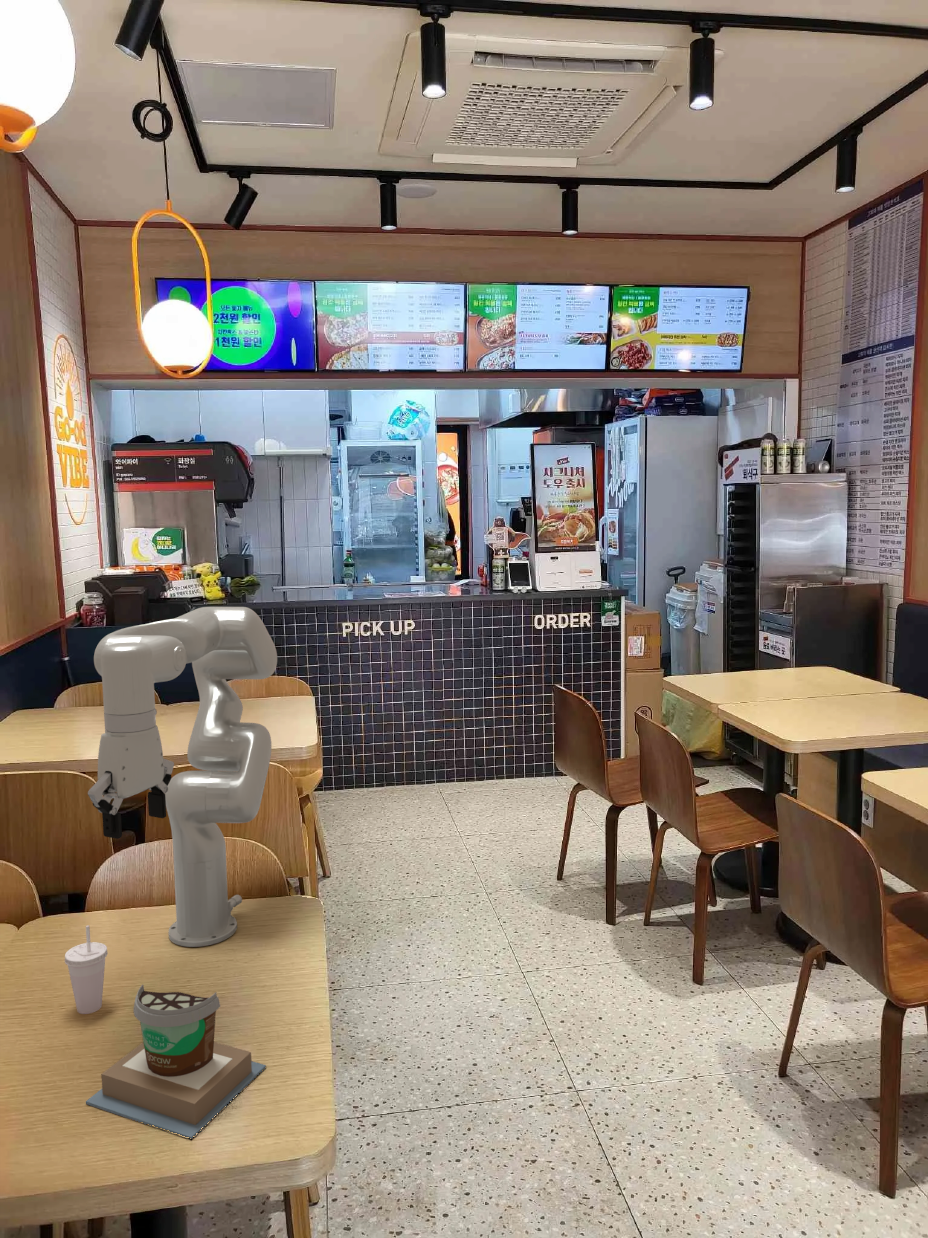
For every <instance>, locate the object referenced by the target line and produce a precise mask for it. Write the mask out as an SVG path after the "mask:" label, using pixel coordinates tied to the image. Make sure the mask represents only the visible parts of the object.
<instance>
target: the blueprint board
mask: <svg viewBox="0 0 928 1238" xmlns="http://www.w3.org/2000/svg"><path fill="white" fill-rule="evenodd" d="M265 1067H266V1068H267V1065H266V1064H263V1063H259V1062H256V1061H252V1051H249V1050H245V1049H242V1048H237V1047H235V1046H231V1045H227V1044H224V1043H220V1042H217V1041H214V1049H213V1059H212V1060H211V1061H210V1062H209V1063H208V1064H207V1065H205V1066H204V1067H202V1068H200V1069H199V1070H197V1071H194V1072H192V1073H189V1074H186V1075H181V1076H175V1077H166V1076H160V1075H157V1074H154V1073H153V1072H152V1071H151V1070H149V1069H148V1065H147V1061H146V1055H145V1048H144V1042H143V1041H142V1042H141V1043H140V1044H139V1045H137V1046H136V1047H135V1048H133V1049H132V1050H131V1051H129V1052H128V1053H127V1054H126V1055H124V1056H123V1057H121V1058H120V1059H119V1060H118V1061H116V1062H115V1063H114V1064H112V1065H111V1066H110V1067H109V1068H107V1069H106V1070H105V1071H103V1072H102V1073H101V1075H100V1076H101V1089H99V1090H98V1091H97V1092H96V1093H94V1094H93V1095H92V1096H90V1097H89V1098H88V1099H87V1100H85V1104H86V1105H88V1106H91V1107H93V1108H97V1109H100V1110H103V1111H105V1112H108V1113H112V1114H114V1115H117V1116H121V1117H123V1118H126V1119H127V1120H128V1119H129V1120H131V1119H132V1121H134V1120H135V1122H137V1121H138V1123H140V1122H143V1123H144V1125H146V1124H149V1125H151V1126H150V1127H152V1125H154V1126H155V1127H158V1128H162V1129H165V1130H169V1131H170V1132H173V1133H177V1134H180V1135H182V1136H185V1137H189V1138H191V1139H192V1138H193V1136H195V1135H196V1133H198V1132H199V1131H200V1130H201V1128H202V1127H204V1126H205V1125H207V1123H208V1122H209V1121H211V1119H212V1118H214V1116H215V1115H217V1113H219V1112H220V1111H221V1110H222V1109H223V1108H224V1107H225V1106H226V1107H228V1105H229V1104H230V1103H231V1102H232V1101H233V1100H234V1099H235V1098H236V1097H237V1096H239V1094H238V1093H240V1092H241V1091H242V1090H243V1089H244V1088H245V1087H246V1086H247V1087H248V1086H249V1085H250V1084H251V1083H252V1082H253V1081H254V1080H255V1079H256V1078H257V1077H258V1076H259V1075H260V1074H261V1073H262V1072H263V1071H264V1070H266V1068H265ZM263 1069H264V1070H263ZM262 1070H263V1071H262ZM260 1072H261V1073H260ZM259 1073H260V1074H259ZM257 1075H258V1076H257ZM256 1076H257V1077H256ZM254 1078H255V1079H254ZM252 1080H253V1081H252ZM251 1081H252V1082H251ZM250 1082H251V1083H250ZM248 1084H249V1085H248ZM247 1087H246V1088H247ZM246 1088H245V1089H246ZM243 1091H244V1090H243ZM241 1093H242V1092H241ZM241 1093H240V1094H241ZM236 1095H237V1096H236ZM235 1096H236V1097H235ZM233 1098H234V1099H233ZM232 1099H233V1100H232ZM230 1101H231V1102H230ZM229 1102H230V1103H229ZM227 1104H228V1105H227ZM226 1107H225V1108H226ZM225 1108H224V1109H225ZM224 1109H223V1110H224ZM223 1110H222V1111H223ZM222 1111H221V1112H222ZM221 1112H220V1113H221ZM220 1113H219V1114H220ZM217 1116H218V1115H217ZM214 1119H215V1118H214ZM211 1122H212V1121H211ZM143 1123H142V1124H143ZM149 1125H148V1126H149ZM207 1126H208V1125H207ZM155 1127H154V1128H155ZM158 1128H157V1129H158ZM204 1128H205V1127H204ZM201 1131H202V1130H201ZM201 1131H200V1132H201ZM200 1132H199V1133H200ZM199 1133H198V1134H199ZM196 1136H197V1135H196ZM196 1136H195V1137H196ZM193 1139H194V1138H193ZM193 1139H192V1140H193Z"/></svg>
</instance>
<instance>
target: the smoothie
mask: <svg viewBox="0 0 928 1238" xmlns="http://www.w3.org/2000/svg"><path fill="white" fill-rule="evenodd" d="M90 930H91V928H90V925H86V926H85V935H86V937H85V938H86V942H84V943H81V944H78V945H75V946H73V947H71V948H70V949H68V950H67V951H66V952H65V955H64V963H65V965H67V969H68V973H69V978H70V983H71V988H72V992H73V997H74V1002H75V1006H76V1012H77V1013H78V1014H81V1015H87V1014H93V1013H95V1012H97V1011H99V1010H100V1009H101V1008H102V1006H103V992H104V991H103V990H104V980H105V969H106V967H105V966H106V957H107V956H108V946H107V945H106V944H105V943H101V942H95V941H92V942H91V931H90Z"/></svg>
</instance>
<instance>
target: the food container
mask: <svg viewBox="0 0 928 1238" xmlns="http://www.w3.org/2000/svg"><path fill="white" fill-rule="evenodd" d="M219 1008H221V1002H220V999H219V996H218V994H217V992H214V993H212V995H211V996H210V997H204V996H196V995H192V994H189V993H185V992H179V991H173V992H160V991H159V992H157V991H148V990H145V986H144V984H142V985H141V986H140V987H139V989H138V990H137V993H136V995H135V998H134V1004H133V1015H134V1017H135V1018H136V1019H137V1020H138V1021H139V1023H140V1028H141V1029H140V1030H141V1035H142V1043H143V1042H144V1048H145V1055H146V1061H147V1065H148V1069H149V1070H151V1071H152V1072H153V1073H154V1074H157V1075H160V1076H166V1077H175V1076H181V1075H186V1074H189V1073H192V1072H194V1071H197V1070H199V1069H200V1068H202V1067H204V1066H205V1065H207V1064H208V1063H209V1062H210V1061H211V1060H212V1059H213V1049H214V1042H215V1031H216V1029H215V1028H216V1013H217V1010H218V1009H219Z"/></svg>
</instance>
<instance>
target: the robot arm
mask: <svg viewBox="0 0 928 1238" xmlns="http://www.w3.org/2000/svg"><path fill="white" fill-rule="evenodd" d="M277 652H278V651H277V649H276V646H275V644H274V641H273V640H272V637H271V635H270V634H269V631H268V629H267V628H266V625H265V624H264V622H263V621H262V619H261V617H260V616H259V614H257V613H256V612H255V611H254V610H253V609H251V608H249V607H246V606H202V607H198V608H196V609H193V610H190V611H189V612H187V613H184V614H182V615H179V616H178V617H175V618H169V619H163V620H159V621H153V622H149V623H145V624H139V625H133V626H128V627H125V628H121V629H117V630H115V631H113V632H111V633H108V634H107V635H105V636H104V637H103V638H102V639H100V641H99V642H98V644H97V646H96V648H95V650H94V655H93V664H94V668H95V670H96V672H97V673H98V675H99V676H101V680H102V681H101V682H102V685H101V686H102V699H103V719H104V720H103V721H104V733H101V736H100V740H99V744H98V745H99V747H98V756H97V781H96V782H95V783H94V784H93V785H92V786H91V787H90V788H89V790H88V791H87V795H88V797H89V799H90V801H91V802H92V806H93V807H94V808H95V809H97V810H98V813H101V816H102V817H101V818H102V829H103V830H102V832H103V836H104V837H106V838H109V839H110V838H111V839H116V840H118V839H121V838H122V836H123V830H122V829H123V828H122V827H123V826H122V814H121V812H119V811H118V810H119V809H120V807H121V805H122V803H123V800H124V799H128V798H130V797H132V796H134V795H138V794H140V793H142V792H145V791H147V790H149V791H148V792H147V806H148V807H147V809H148V816H149V817H153V818H157V819H165V818H166V817H167V815H168V818H169V824H170V829H171V838H172V850H173V851H172V853H173V873H174V876H173V877H174V895H175V916H176V919H175V920H176V921H174V922H173V923H172V924H171V925H170V926H169V928H168V938H169V940H170V942H172V943H173V944H176V945H177V946H181V947H188V948H189V947H190V948H197V947H206V946H211V945H215V944H218V943H220V942H223V941H226V940H227V939H229V938H231V937H232V936H233V935H234V934H235V933H236V931H237V929H238V922H237V919H236V918H235V917H234V916H233V915H232V911H233V910H234V908H235V907H237V906H239V905H241V903H242V902H243V898H242V896H241V895H239V894H235V895H233V896H232V897H231V898H229V897H228V878H227V877H228V876H227V875H228V873H227V872H228V871H227V854H226V853H227V850H226V849H227V848H226V841H225V837H224V834H223V832H222V830H221V828H220V827H219V825H218V824H244V823H245V824H246V823H249V822H251V821H253V820H254V819H255V818H256V817H257V815H258V813H259V810H260V806H261V803H262V800H263V799H262V798H263V794H264V789H265V786H266V785H265V784H266V780H267V775H268V772H269V766H270V763H271V756H272V737H271V734H270V731H269V730H268V729H267V727H266V726H264V725H262V724H260V723H257V722H245V721H244V722H241V719H242V716H243V711H244V710H243V709H244V707H243V703H242V700H241V698H240V697H239V695H238V694H237V692H235V690H234V689H233V687H231V686H230V685H229V683H228V681H227V680H264V679H268V678H270V677H271V676H272V675H273V674H274V673H275V671H276V668H277V664H278V653H277ZM186 664H191V667H192V671H193V674H194V679H195V683H196V687H197V690H198V696H199V706H198V711H197V713H196V717H195V720H194V724H193V728H192V731H191V735H190V738H189V742H188V745H187V746H188V747H187V754H186V755H187V756H186V757H187V761H188V763H189V765H191V766H192V767H193V768H194V769H198V770H187V771H181V772H179V773H176V774H175V775H173V776H172V774H173V770H174V768H175V767H174V766H175V762H174V761H172V760H169V759H166V758H164V754H163V746H162V740H161V735H160V731H159V728H158V725H157V722H156V721H157V720H156V719H157V717H156V716H157V713H158V712H157V711H158V710H157V709H156V701H155V700H156V699H155V683H163V682H168V681H172V680H174V679H176V678H177V677H178V676H180V675H181V674H182V672H183V671H184V670H185V668H186ZM111 800H113V801H112V803H111ZM228 898H229V899H228Z"/></svg>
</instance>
